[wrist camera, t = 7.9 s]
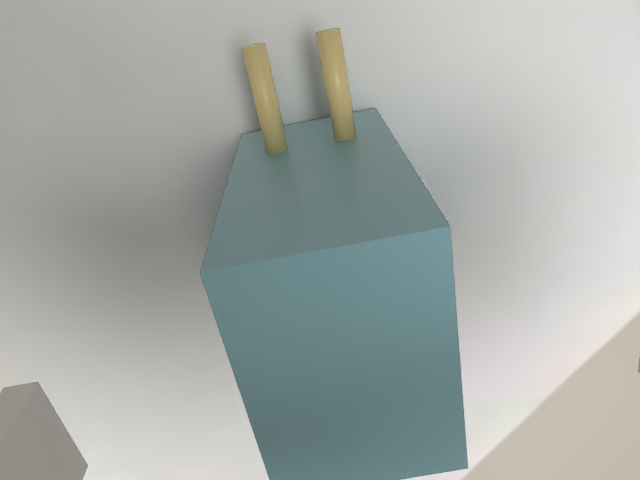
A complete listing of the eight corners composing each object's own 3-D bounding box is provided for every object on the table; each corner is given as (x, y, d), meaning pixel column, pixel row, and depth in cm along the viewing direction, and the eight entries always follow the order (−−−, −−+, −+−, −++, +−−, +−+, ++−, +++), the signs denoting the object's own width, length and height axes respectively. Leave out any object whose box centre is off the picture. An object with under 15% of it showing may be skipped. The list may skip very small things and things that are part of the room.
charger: (218, 43, 18) (146, 113, 9) (363, 14, 18) (437, 56, 9) (283, 293, 22) (277, 504, 14) (397, 272, 22) (468, 471, 13)
